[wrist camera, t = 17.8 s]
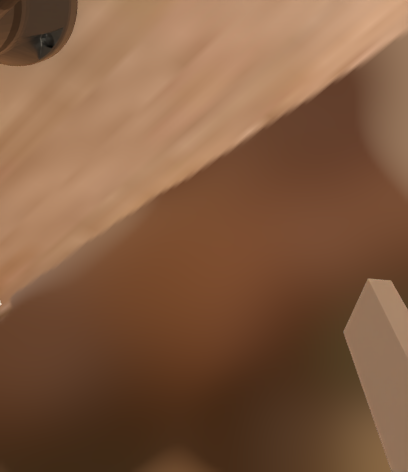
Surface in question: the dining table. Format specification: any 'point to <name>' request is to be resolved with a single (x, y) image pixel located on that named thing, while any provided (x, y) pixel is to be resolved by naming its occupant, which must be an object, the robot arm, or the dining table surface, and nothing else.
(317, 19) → the dining table surface
